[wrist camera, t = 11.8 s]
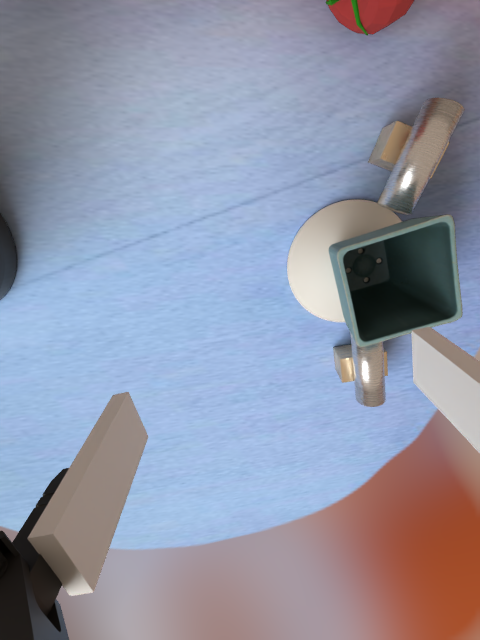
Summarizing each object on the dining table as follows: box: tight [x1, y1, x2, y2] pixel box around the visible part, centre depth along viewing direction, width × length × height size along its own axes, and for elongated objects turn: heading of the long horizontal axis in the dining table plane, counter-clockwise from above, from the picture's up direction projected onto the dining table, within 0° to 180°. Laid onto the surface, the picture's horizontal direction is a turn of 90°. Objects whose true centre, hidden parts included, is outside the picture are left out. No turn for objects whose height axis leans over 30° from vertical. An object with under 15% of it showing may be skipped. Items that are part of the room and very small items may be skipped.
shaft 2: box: [368, 98, 464, 215], centre depth 28 cm, size 8×5×6 cm, turn 161°
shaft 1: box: [333, 332, 388, 407], centre depth 35 cm, size 8×5×6 cm, turn 11°
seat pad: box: [287, 200, 402, 322], centre depth 34 cm, size 13×13×1 cm
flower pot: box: [329, 215, 463, 347], centre depth 29 cm, size 9×9×9 cm
